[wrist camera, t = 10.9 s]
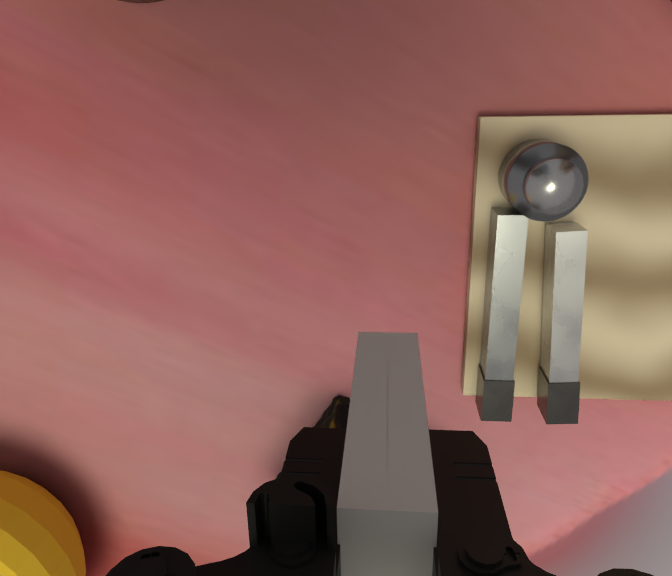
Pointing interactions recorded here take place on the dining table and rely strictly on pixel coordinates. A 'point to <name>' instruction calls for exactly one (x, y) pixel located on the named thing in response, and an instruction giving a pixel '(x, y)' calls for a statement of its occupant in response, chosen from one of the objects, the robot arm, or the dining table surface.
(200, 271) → the dining table surface
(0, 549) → the vase
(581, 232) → the bar
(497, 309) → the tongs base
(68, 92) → the dining table surface
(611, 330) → the board
